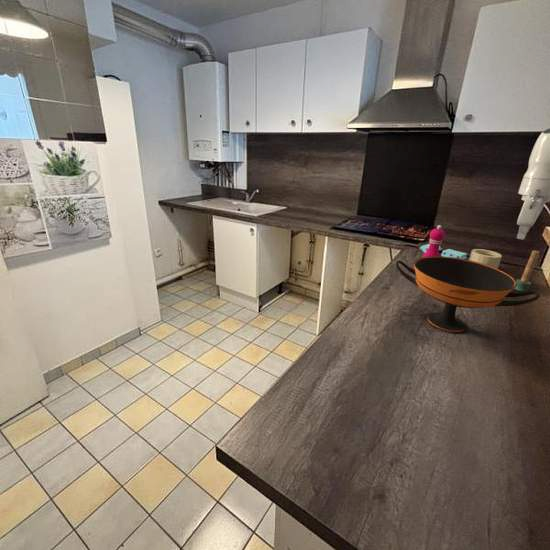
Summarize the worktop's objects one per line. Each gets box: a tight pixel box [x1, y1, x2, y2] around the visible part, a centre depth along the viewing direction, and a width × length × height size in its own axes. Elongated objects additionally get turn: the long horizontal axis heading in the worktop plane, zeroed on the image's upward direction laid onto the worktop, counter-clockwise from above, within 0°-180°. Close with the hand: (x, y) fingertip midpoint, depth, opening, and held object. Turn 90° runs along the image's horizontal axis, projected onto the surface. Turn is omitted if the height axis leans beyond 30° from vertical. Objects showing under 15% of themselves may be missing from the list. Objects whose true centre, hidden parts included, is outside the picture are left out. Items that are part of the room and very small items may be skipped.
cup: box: [395, 255, 541, 333], centre depth 87 cm, size 36×26×18 cm
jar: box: [468, 248, 503, 269], centre depth 125 cm, size 11×11×11 cm
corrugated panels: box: [419, 243, 468, 259], centre depth 147 cm, size 34×3×10 cm
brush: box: [513, 250, 541, 292], centre depth 113 cm, size 5×5×16 cm
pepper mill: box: [422, 224, 446, 257], centre depth 131 cm, size 7×7×20 cm
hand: (522, 235), depth 89 cm, fingers open, 8 cm apart
